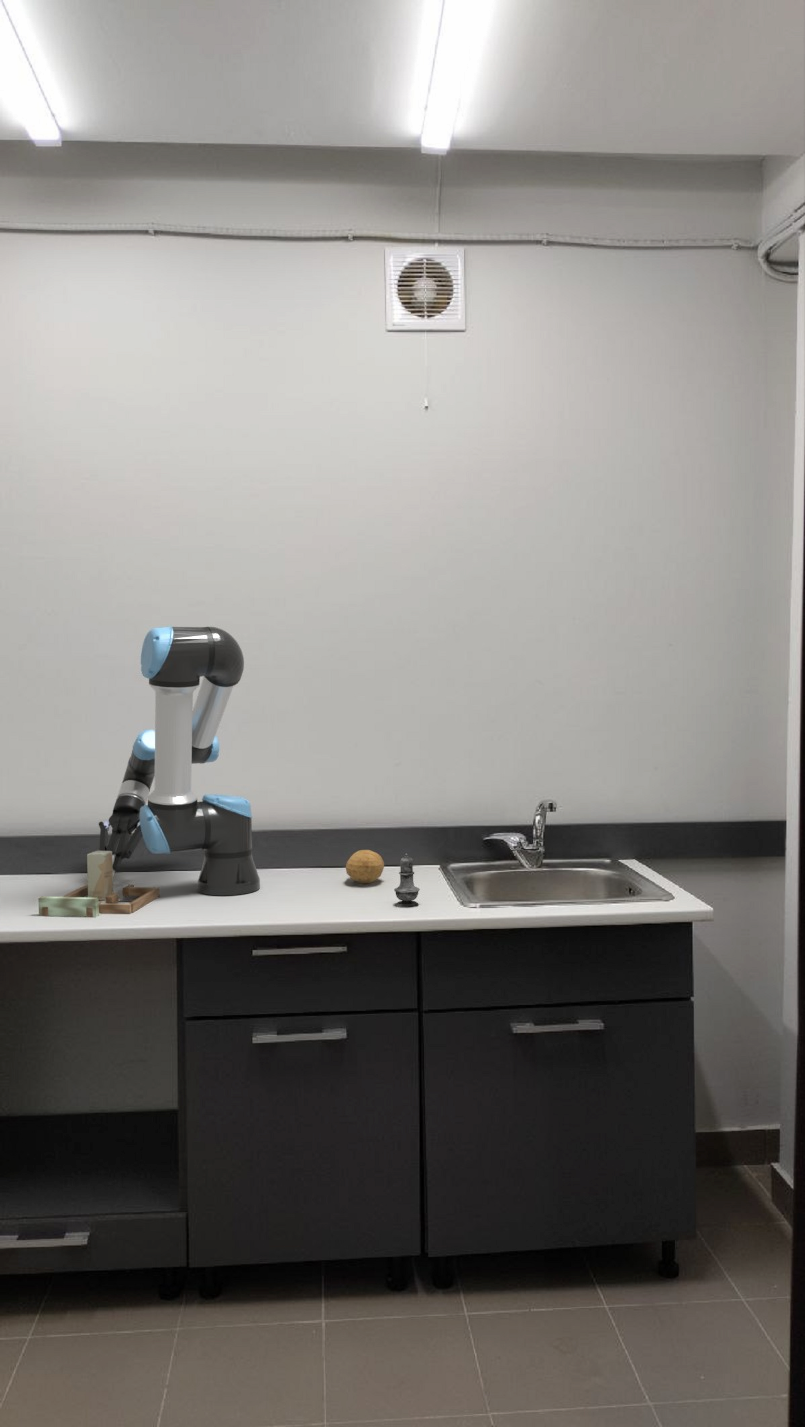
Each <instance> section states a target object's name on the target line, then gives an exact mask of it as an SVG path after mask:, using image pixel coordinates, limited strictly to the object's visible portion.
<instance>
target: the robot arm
mask: <svg viewBox="0 0 805 1427" xmlns="http://www.w3.org/2000/svg"><path fill="white" fill-rule="evenodd" d="M244 660H245V658H244V654H243V651H242V648H241V646H240V645H239V643H238V641H237V640H236V639H235V638H234V637H233V636H232V635H231V634H230V633H229V632H227V631H226V630H224V629H222V628H219V627H214V626H164V627H154V628H152V629H150V630H148V632H147V633H146V635H145V638H144V640H143V643H142V648H141V653H140V665H141V667H140V671H141V675H142V676H143V678H145V679H148V686H150V688H152V690H154V692H155V694H154V695H155V700H154V701H155V703H154V704H155V705H154V706H155V708H154V709H155V710H154V713H155V716H154V717H155V718H154V719H155V720H154V729H150V728H149V729H144V730H143V731H141V732H140V733H139V734H138V735H137V737H136V738H135V740H134V742H133V745H132V751H131V753H130V756H129V758H128V762H127V765H126V768H125V773H124V775H123V778H122V782H121V785H120V788H119V790H118V793H117V796H116V800H115V803H114V806H113V809H112V814H111V815H110V816H109V818H108V820H107V821H104V822H103V821H100V822H99V821H98V827H99V828H100V830H99V831H100V832H99V833H100V834H99V847H98V848H99V850H98V851H112V862H113V877H114V876H115V872H116V871H119V869H120V867H121V863H122V861H123V859H130V858H131V857H132V855H133V853H134V851H135V849H136V848H137V847H138V845H139V843H140V841H141V839H142V838H143V841H144V844H145V847H146V848H147V849H148V851H149V852H151V853H152V854H167V855H170V854H172V853H183V852H192V851H200V850H201V851H202V850H204V851H203V852H204V853H203V854H204V856H203V857H204V858H203V862H202V866H201V869H200V872H199V876H198V880H197V891H198V892H199V893H200V894H204V895H210V896H236V895H244V894H250V893H253V892H257V891H258V890H259V889H261V879H260V876H259V872H258V871H257V868H256V864H255V861H254V859H253V834H252V827H253V826H252V824H253V823H252V822H253V821H252V819H253V816H252V808H251V807H252V806H251V802H250V800H248V799H246V798H245V797H241V796H236V795H229V794H228V795H227V794H218V793H217V794H213V793H211V794H204V795H203V796H202V798H201V800H202V801H198V795H197V794H196V793H194V791H193V790H192V765H193V764H194V765H196V764H205V763H207V764H208V763H214V762H215V761H217V759H219V758H218V757H219V754H220V753H219V752H220V743H219V739H218V737H217V732H218V729H219V727H220V724H221V721H222V718H223V716H224V712H225V710H226V708H227V705H228V702H229V699H230V697H231V693H232V691H233V688H234V687H235V686H236V685H238V684H239V682H240V681H241V679H242V677H243V673H244V669H245V661H244ZM201 677H203V678H202V681H201V680H200V678H201ZM200 681H201V683H200ZM198 687H199V690H198V693H197V695H196V700H195V703H194V704H193V702H194V701H193V700H194V698H193V694H194V692H195V690H196V689H198ZM193 705H194V706H193ZM153 782H154V783H153ZM152 784H154V785H153V786H154V790H152V792H151V788H152ZM150 792H151V793H150ZM110 827H111V828H112V830H111V835H110V838H109V831H110Z"/></svg>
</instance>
